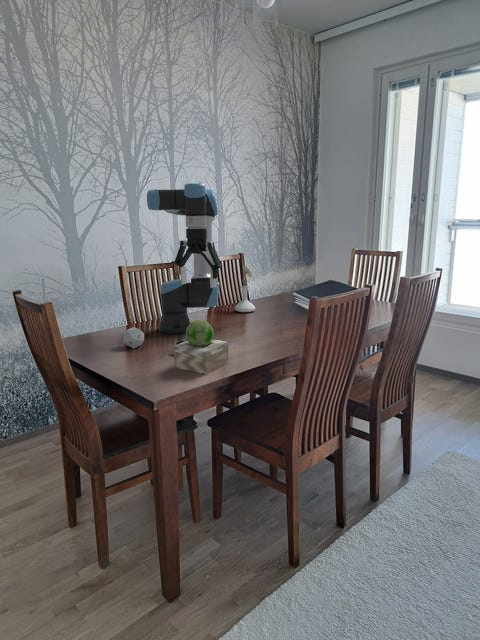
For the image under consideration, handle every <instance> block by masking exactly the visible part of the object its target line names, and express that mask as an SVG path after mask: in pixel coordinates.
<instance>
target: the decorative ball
mask: <svg viewBox="0 0 480 640" xmlns="http://www.w3.org/2000/svg"><path fill="white" fill-rule="evenodd" d="M214 334H215V333H214V328H213V327H212V325H211V324H210V323H209V322H208V321H207V320H204V319H194V320H192V321H190V324H189V326H188V327H187V329H186V332H185V338H186V341H188V342H189V343H190V344H191V345H193V346H195V347H205V346H207V345H208V344H209V343H210V342H211V341H212V339H213V338H214Z"/></svg>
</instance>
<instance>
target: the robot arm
mask: <svg viewBox="0 0 480 640" xmlns="http://www.w3.org/2000/svg"><path fill="white" fill-rule="evenodd" d="M146 205H147V208H148V210H149V211H158V212H159V211H164V212H166V213H168V214H171V215H177V216H185V227H186V229H185V236H186V237H185V238H186V239H187V240H186V239H184V240H183V239H182V240H180V241H179V248H178V251H177V253H176V256H175V258H174V262H173V263H174V264H173V265H175V266H177V267H178V274H179V275H180V278H178V279H172V280H171V279H170V280H168V281H165V282H163V283H161V285H160V298H161V299H160V300H161V317H160V321H159V324H158V331H159V332H160V334H161V333H162V334H166V335H168V334H169V335H178V334H186V329H187V327H188V326H189V324H190V323H191V320H190V318H189V317H190V316H189V314H188V309H196V308H197V309H198V308H200V309H201V308H205V309H206V308H214V307H216V306H217V305H218V298H219V290H220V282H219V281H217V279H218V278H219V277H218V275H219V274H218V272H219V271H218V270H219V269H221V268H223V264H222V262H221V260H220V257H219V255H218V252H217V250H216V246H215V242H214V241H213V235H212V234H213V233H212V232H213V231H212V229H213V228H212V227H213V226H212V223H213V222H214V221H215V219H216V218H215V217H216V216H217V215H219V214H218V206H217V200H216V193H215V191H214V190H213V189H206V185H205V183H200V182H199V183H185V184H184V188H182V189H180V188H178V189H156V188H155V189H148V190H147V192H146ZM192 255H193V276H192V277H191V278H190V282H188V279H187V274H188V273H187V266H186V263H187V262H188V261H189V259H190V257H191V256H192Z"/></svg>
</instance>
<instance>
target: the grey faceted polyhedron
mask: <svg viewBox="0 0 480 640" xmlns="http://www.w3.org/2000/svg"><path fill="white" fill-rule="evenodd" d="M144 342H145V333H144V332H143V331H142V330H141V329H140V328H137V327H135V326H132V327H131V328H127V329H126V330H125V332H124V334H123V343H124V344H125V345H127V346H128V347H130V348H132V349H134V350H135V349H136V348H139V347H140V346H142V344H143V343H144Z"/></svg>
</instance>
